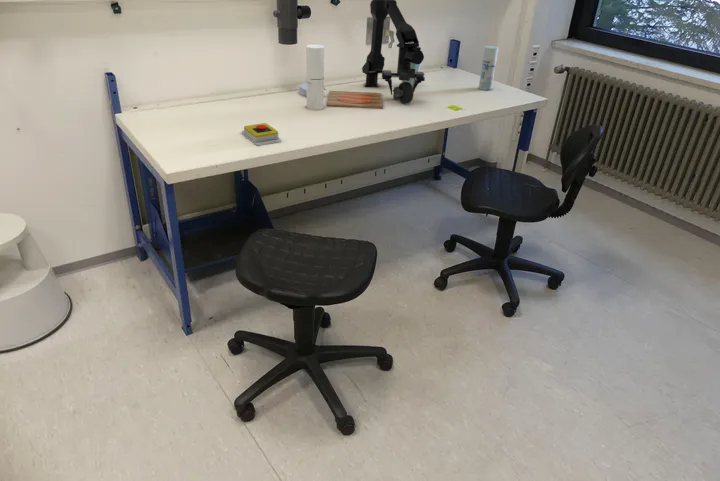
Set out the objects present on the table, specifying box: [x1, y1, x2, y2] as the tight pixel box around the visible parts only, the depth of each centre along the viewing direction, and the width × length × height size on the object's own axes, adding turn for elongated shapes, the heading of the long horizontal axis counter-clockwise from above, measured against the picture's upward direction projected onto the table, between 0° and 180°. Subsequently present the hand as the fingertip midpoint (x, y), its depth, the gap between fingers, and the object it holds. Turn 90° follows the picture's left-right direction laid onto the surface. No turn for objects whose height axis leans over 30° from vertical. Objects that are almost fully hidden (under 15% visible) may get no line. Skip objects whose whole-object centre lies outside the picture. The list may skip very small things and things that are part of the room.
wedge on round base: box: [299, 80, 327, 97], centre depth 244 cm, size 9×7×13 cm
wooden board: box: [326, 90, 384, 110], centre depth 240 cm, size 22×24×1 cm
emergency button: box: [241, 122, 281, 147], centre depth 194 cm, size 9×4×15 cm
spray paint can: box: [478, 45, 499, 91], centre depth 263 cm, size 6×6×20 cm
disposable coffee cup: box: [401, 61, 423, 86], centre depth 262 cm, size 11×11×15 cm
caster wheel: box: [392, 81, 415, 104], centre depth 240 cm, size 6×10×15 cm
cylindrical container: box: [305, 43, 325, 111], centre depth 223 cm, size 7×7×25 cm
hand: (401, 95), depth 242 cm, fingers open, 9 cm apart
